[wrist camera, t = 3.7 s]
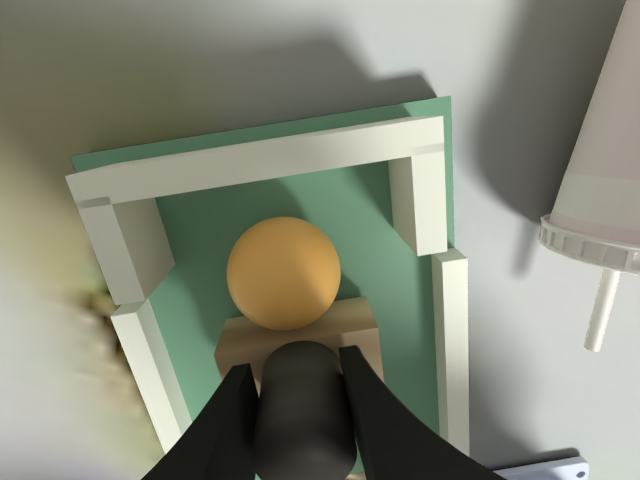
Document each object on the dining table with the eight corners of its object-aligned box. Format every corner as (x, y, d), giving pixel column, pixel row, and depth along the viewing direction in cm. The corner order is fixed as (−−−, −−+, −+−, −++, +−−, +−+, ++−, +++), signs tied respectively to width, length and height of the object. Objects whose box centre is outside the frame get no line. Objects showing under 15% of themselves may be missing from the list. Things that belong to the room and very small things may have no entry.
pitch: (449, 436, 20) (487, 514, 16) (205, 477, 20) (182, 567, 16) (438, 97, 14) (494, 89, 10) (88, 153, 14) (5, 166, 10)
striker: (372, 354, 16) (412, 476, 11) (241, 375, 16) (213, 510, 10) (365, 296, 15) (405, 398, 10) (226, 318, 15) (185, 434, 9)
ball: (355, 343, 11) (338, 222, 10) (230, 364, 11) (199, 245, 10) (341, 291, 15) (327, 199, 14) (248, 306, 15) (227, 215, 14)
